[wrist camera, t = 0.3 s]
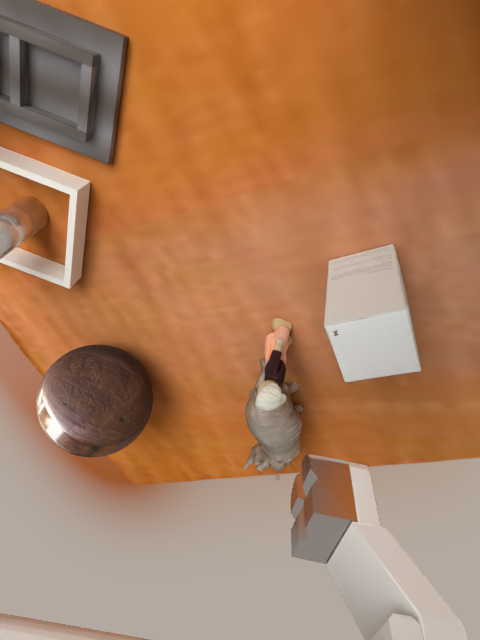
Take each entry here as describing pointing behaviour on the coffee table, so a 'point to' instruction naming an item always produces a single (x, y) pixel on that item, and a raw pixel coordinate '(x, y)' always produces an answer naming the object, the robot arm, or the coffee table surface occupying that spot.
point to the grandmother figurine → (274, 366)
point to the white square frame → (76, 220)
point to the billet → (20, 223)
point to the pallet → (60, 77)
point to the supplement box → (370, 316)
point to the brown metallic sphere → (94, 401)
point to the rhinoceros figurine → (274, 429)
